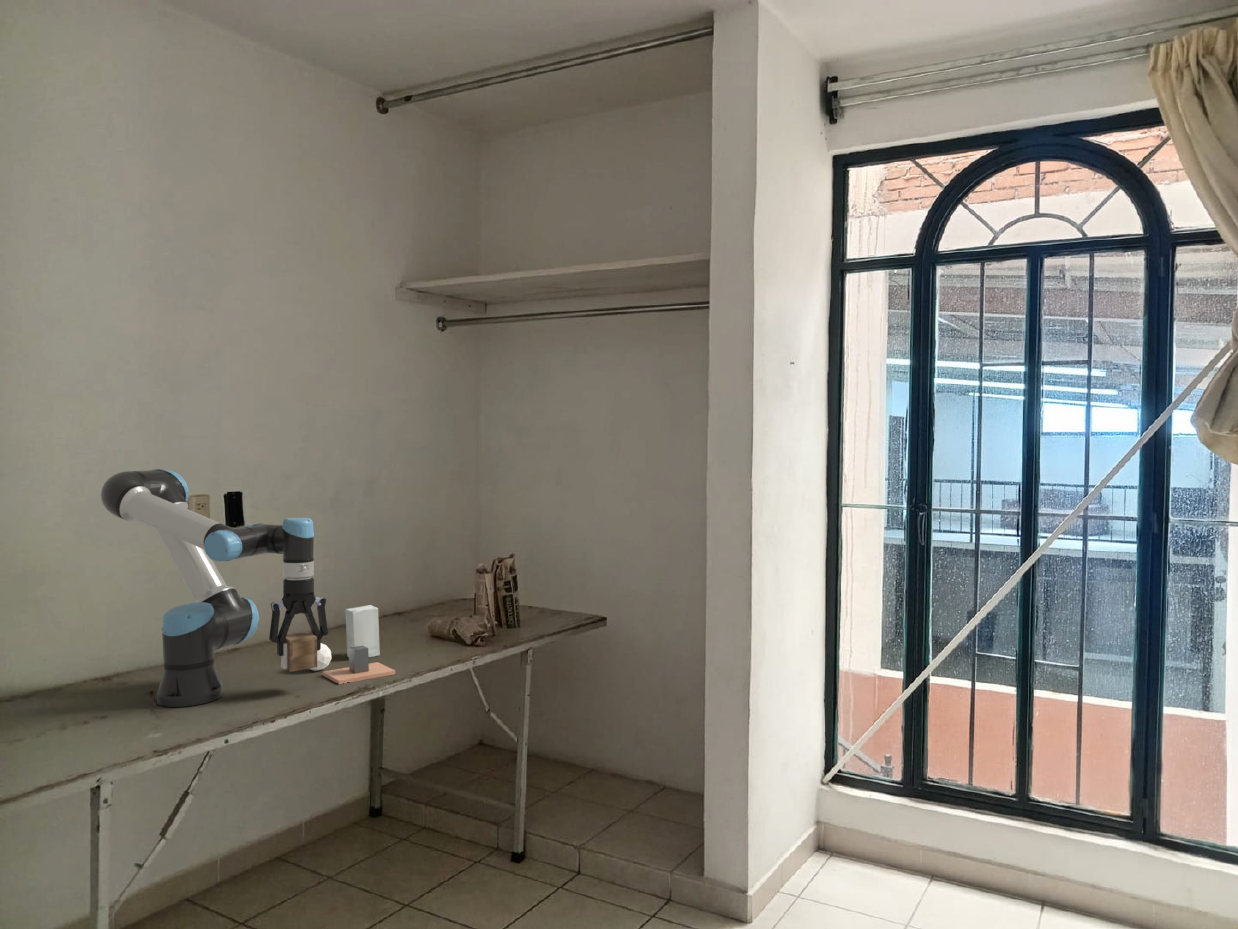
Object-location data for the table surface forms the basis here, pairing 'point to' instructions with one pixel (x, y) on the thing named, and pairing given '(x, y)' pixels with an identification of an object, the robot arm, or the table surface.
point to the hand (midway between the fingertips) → (299, 665)
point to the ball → (322, 658)
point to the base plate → (347, 676)
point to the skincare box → (363, 629)
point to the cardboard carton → (301, 651)
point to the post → (358, 659)
